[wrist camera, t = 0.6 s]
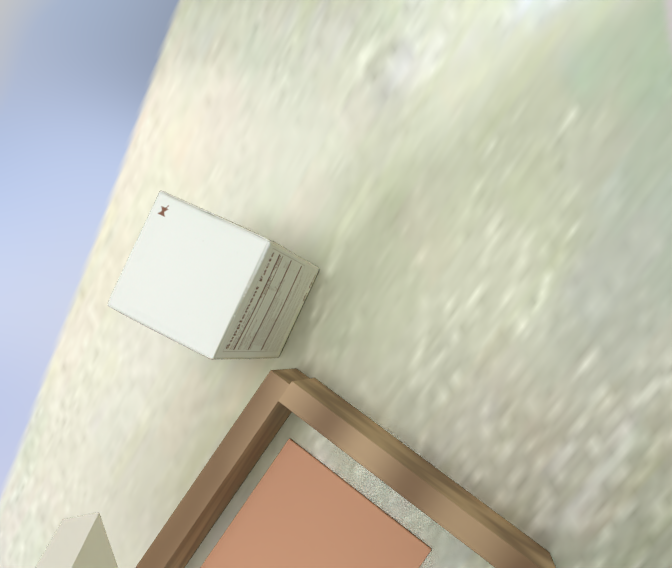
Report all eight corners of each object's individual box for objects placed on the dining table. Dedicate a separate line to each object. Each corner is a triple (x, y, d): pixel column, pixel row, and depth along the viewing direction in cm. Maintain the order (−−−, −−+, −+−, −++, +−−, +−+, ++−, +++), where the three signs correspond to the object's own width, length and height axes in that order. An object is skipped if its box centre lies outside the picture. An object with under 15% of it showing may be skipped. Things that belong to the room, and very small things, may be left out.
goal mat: (431, 548, 42) (431, 549, 42) (329, 694, 43) (328, 696, 42) (290, 438, 45) (288, 438, 45) (195, 576, 45) (193, 577, 45)
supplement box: (194, 317, 48) (99, 304, 35) (238, 228, 48) (158, 184, 35) (279, 361, 46) (210, 364, 34) (324, 269, 46) (271, 237, 34)
